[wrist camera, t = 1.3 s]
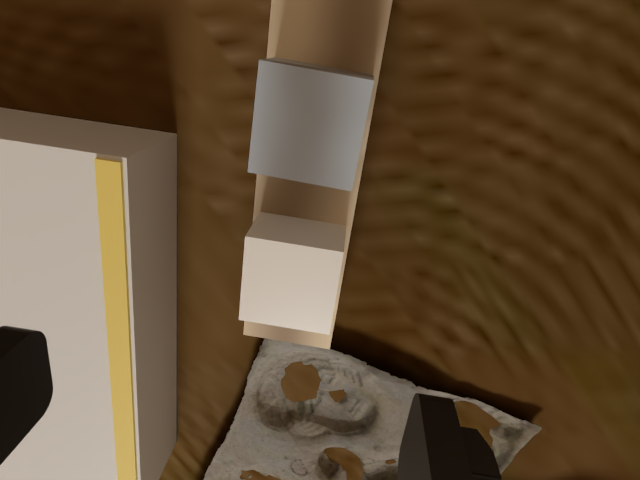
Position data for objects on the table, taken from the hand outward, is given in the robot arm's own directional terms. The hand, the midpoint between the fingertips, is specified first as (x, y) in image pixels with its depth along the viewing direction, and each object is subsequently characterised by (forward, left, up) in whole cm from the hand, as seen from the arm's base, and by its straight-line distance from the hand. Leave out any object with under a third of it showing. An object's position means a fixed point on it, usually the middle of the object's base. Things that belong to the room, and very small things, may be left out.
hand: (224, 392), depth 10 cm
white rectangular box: (+14, +11, -18) cm, 25 cm away
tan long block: (0, 0, -18) cm, 18 cm away
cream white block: (0, +3, -14) cm, 14 cm away
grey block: (0, -4, -14) cm, 14 cm away
